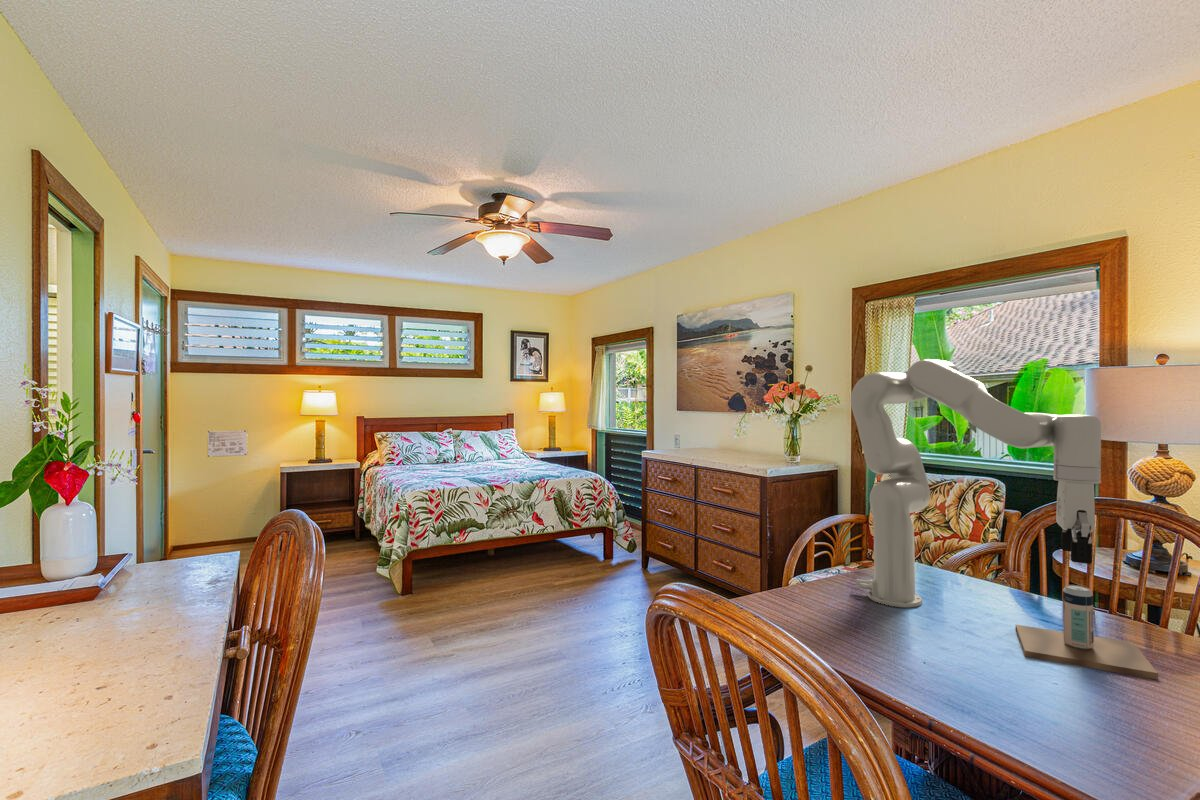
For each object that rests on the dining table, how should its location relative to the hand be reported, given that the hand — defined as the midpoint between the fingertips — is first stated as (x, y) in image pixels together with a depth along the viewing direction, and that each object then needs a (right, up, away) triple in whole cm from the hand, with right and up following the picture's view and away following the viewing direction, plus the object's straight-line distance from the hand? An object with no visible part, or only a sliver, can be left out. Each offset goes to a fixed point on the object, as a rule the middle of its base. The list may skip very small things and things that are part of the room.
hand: (1076, 556), depth 119 cm
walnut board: (0, -20, -1) cm, 20 cm away
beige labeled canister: (0, -19, 0) cm, 19 cm away
